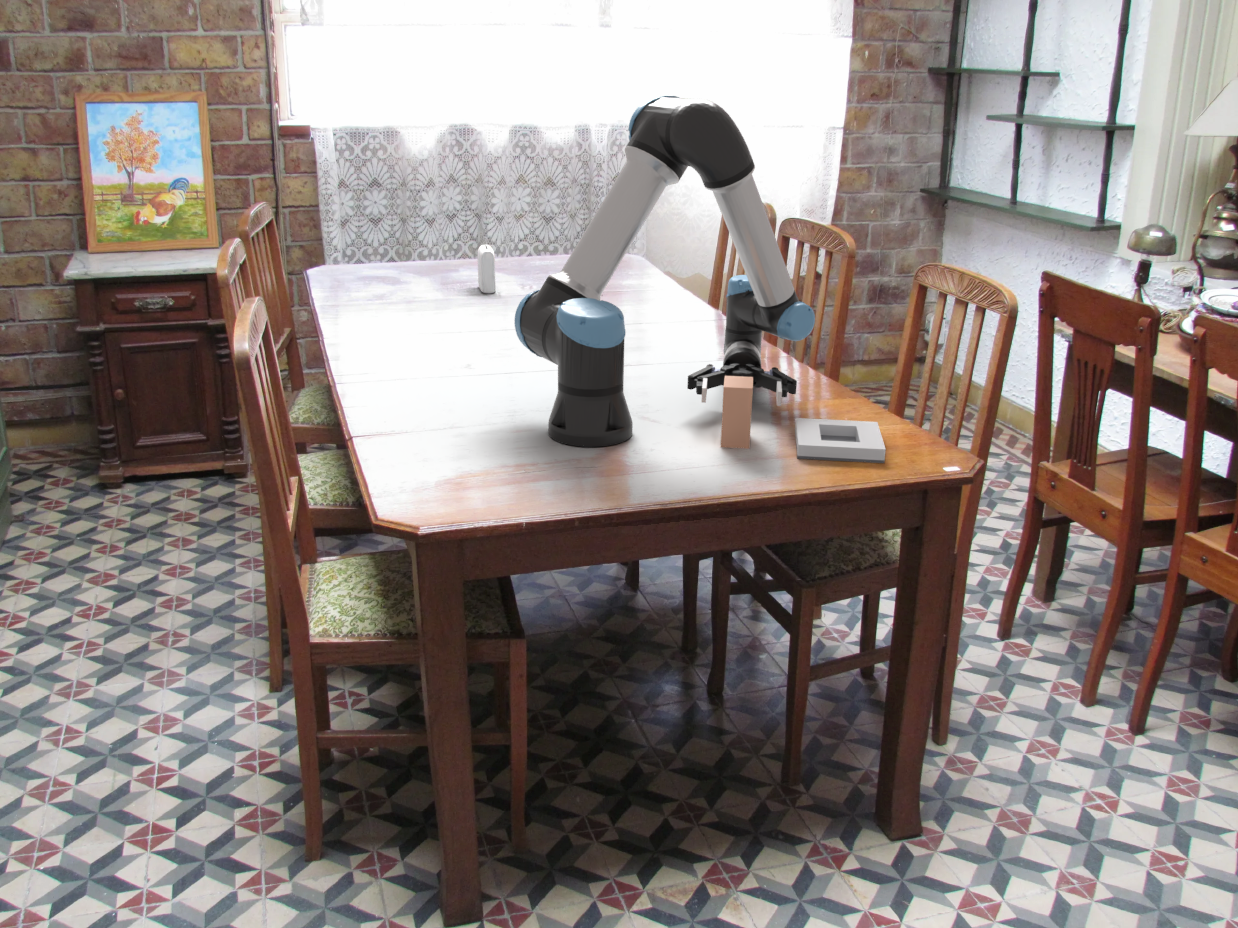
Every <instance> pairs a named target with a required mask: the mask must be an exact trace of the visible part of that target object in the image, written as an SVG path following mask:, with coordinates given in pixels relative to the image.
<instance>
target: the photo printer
mask: <svg viewBox="0 0 1238 928" xmlns="http://www.w3.org/2000/svg"><path fill="white" fill-rule="evenodd" d="M495 255H496V254H495V252H494V249H493V248H492V247H491V246H490V245H489V244H481V245H480V246H479V247H478V249H477V255H476V256H477V281H478V283H477V284H478V288H479V290H480V291H481V293H483V294H493V293H495V292H496V259H495V258H496V256H495Z"/></svg>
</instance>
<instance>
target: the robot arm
mask: <svg viewBox="0 0 1238 928" xmlns="http://www.w3.org/2000/svg"><path fill="white" fill-rule="evenodd" d="M628 132H629V133H628V142H627V144H626V146H625V147H624V153H625V158H626V162H625V164H624V166H623V167H622V169H621V171H620V172H619V174H618V176H617V177H616V179H615V180H614V182H613V184H612V185H611V187H610V189H609V191H608V192H607V194H606V196H605V197H604V199H603V201H602V202H601V204H600V205H599V208H598V209H597V210H596V212H595V214H594V215H593V217H592V219H591V220H590V222H589V224H588V225H587V227H586V229H585V231H584V232H583V233H582V235H581V238H580V239H579V241H578V242H577V244H576V246H575V247H574V248H573V251H572V252H571V253H570V256H568V259H567V261H566V262H565V264H564V266H563V267H562V269H561V270H560V271H559V272H557V273H553V274H549V275H548V276H547V277H546V279H545V281H544V283H543V284H542V286H541V287H540V289H536V290H534V291H533V292H529V293H528V294H526V295H525V296H524V297H523V298H522V299H521V301H520V302H519V304H518V306H517V308H516V310H515V314H514V329H515V333H516V336H517V338H518V340H519V341H520V343H521V344H522V346H523V347H525V349H528V350H529V352H531V353H532V354H534V355H536V357H540V358H543V359H545V360H547V361H549V362H551V363H552V364H555V365H557V394H556V397H555V400H554V402H553V406H552V409H551V412H550V415H549V417H548V424H547V425H548V431H547V432H548V435H549V438H551V439H553V441H555V442H558V443H561V444H565V445H567V446H574V447H582V448H583V447H585V448H586V447H587V448H593V447H594V448H597V447H599V448H600V447H607V446H614V445H618V444H621V443H624V442H625V441H628V440H630V438H631V437H632V436H633V425H634V424H633V418H632V416H631V414H630V413H631V412H630V410H629V406H628V404H627V403H628V402H627V400H626V397H625V393H624V377H625V376H624V373H625V372H624V371H625V338H626V327H625V326H626V325H625V318H624V317H625V316H624V314H623V311H622V310H621V309H620V308H619V307H618V306H617V305H615V304H614V303H612V302H610V301H606V300H603V299H602V300H601V296H602V294H603V293H604V291H605V289H606V287H607V285H609V283H610V281H611V279H612V277H613V276H614V274H615V272H617V270H618V268H619V266H620V264H621V263H622V261H623V260H624V257H625V256H626V254H627V253H628V252H629V249H630V248H631V245H632V244H633V242H634V241H635V239H636V237H637V236H638V234H639V232H640V231H641V229H642V227H643V225H644V224H645V223H646V220H647V219H648V217H649V215H650V214H651V213H652V211H653V210H654V208H655V206H656V205H657V202H658V201H659V199H660V197H661V196H662V194H663V192H665V189H666V187H668V186H672V185H676V184H678V183H679V182H680V180H681V178H682V177H683V175H684V174H685V172H686V170H687V168H688V167H691V168H692V169H693V170H695V171H696V173H697V174H698V175H699V177H700V178H701V181H702V183H703V186H704V187H705V189H706V190H709V191H712V193H713V195H714V196H713V197H714V199H715V200H716V203H717V206H718V208H719V210H720V212H721V216H722V218H723V220H724V223H725V226H726V228H727V230H728V233H729V235H730V238H731V240H732V243H733V245H734V248H735V250H736V253H737V255H738V258H739V260H740V263H741V265H742V268H743V270H744V273H745V274H739V275H737V274H736V275H734V276H732V277H730V278H729V280H728V283H727V293H726V295H725V298H726V307H725V308H726V309H725V310H726V313H725V315H726V316H725V329H724V344H723V361H722V362H723V363H722V366H721V367H720V368H716V366H714V365H713V364H710V363H709V364H707V365H706V366H705V367H703V368H702V369H699V370H697V371H695V372H693V373H690V374H688V375H687V386H686V387H687V390H694V389H695V392H696V395H701V403H706V402H707V393H708V390H709V389H713V388H717V387H720V386H723V387H724V378H725V376H743V377H753V388H755V389H756V388H757V389H758V388H759V389H760V388H764V389H766V390H768V391H772V392H773V393H776V394H775V397H776V399H775V400H776V407H782V402H783V401H782V398H788V394H791V395H796V394H797V383H798V381H797V380H796V379H795V378H792V377H791V376H789V375H787V374H786V373H784V372H782V371H780V370H779V368H778V367H776V366H774V367H771V368H770V369H769V370H767V371H766V370H764V368H762V356H761V355H762V354H761V353H762V336H763V332H765V333H766V334H767V333H768V334H770V335H773V336H776V337H778V338H780V339H783V340H788V341H793V342H798V341H799V342H800V341H802V340H804V339H806V338H807V337H808V336H809V335H810V334H811V333H812V331H813V329H814V327H815V322H816V315H815V311H814V309H813V308H812V307H811V306H810V305H809V304H806V303H805V302H804V301H800V299H799V297H798V295H797V292H796V289H795V288H794V285H793V281H792V279H791V276H790V274H789V271H788V268H787V265H786V263H785V260H784V257H783V254H782V253H781V249H780V246H779V245H778V241H777V239H776V237H775V236H776V235H775V233H774V230H773V227H772V225H771V222H770V219H769V216H768V214H767V211H766V208H765V205H764V203H763V201H762V198H761V196H760V195H761V194H760V193H759V190H758V187H757V184H756V182H755V179H754V177H753V173H754V171H755V168H756V166H755V162H754V160H753V157H752V154H751V152H750V149H749V147H748V144H747V142H746V141H745V138H744V137H743V134H742V132H741V131H740V129H739V127H738V126H737V124H736V122H735V121H734V120H733V118H732V117H731V115H730V114H729V113H728V112H727V111H726V110H725V109H724V108H723V107H721V106H720V105H718V104H717V103H715V102H713V101H710V100H708V99H702V98H685V97H679V96H676V95H669V94H668V95H660V96H654V97H651V98H649V99H647V100H645V101H644V102H642V103H641V104H639V106H637V108H636V109H635V110H634V112H633V113H632V115H631V117H630V120H629V124H628Z"/></svg>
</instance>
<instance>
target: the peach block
mask: <svg viewBox="0 0 1238 928" xmlns="http://www.w3.org/2000/svg"><path fill="white" fill-rule="evenodd" d="M722 391H723V393H722V408H721V409H722V415H721V432H720V434H721V435H720V448H729V449H749V450H750V444H751V443H750V441H751V426H752V425H751V424H752V412H753V411H752V408H753V396H754V395H753V392H754V386H753V377H743V376H725V378H724V386H723V390H722Z"/></svg>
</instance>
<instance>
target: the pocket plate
mask: <svg viewBox="0 0 1238 928" xmlns="http://www.w3.org/2000/svg"><path fill="white" fill-rule="evenodd" d="M794 425H795V426H794V436H795V446H796V458H797V459H799V460H815V461H816V460H818V461H837V462H854V463H855V462H857V463H871V464H872V463H873V464H875V463H876V464H885V459H886V450H887V449H886V446H885V443H884V439H883V436H882V433H881V430H880V427H879V422H878V421H867V420H866V421H864V420H848V419H847V420H846V419H845V420H844V419H826V418H821V419H820V418H806V417H805V418H804V417H795V424H794Z"/></svg>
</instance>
